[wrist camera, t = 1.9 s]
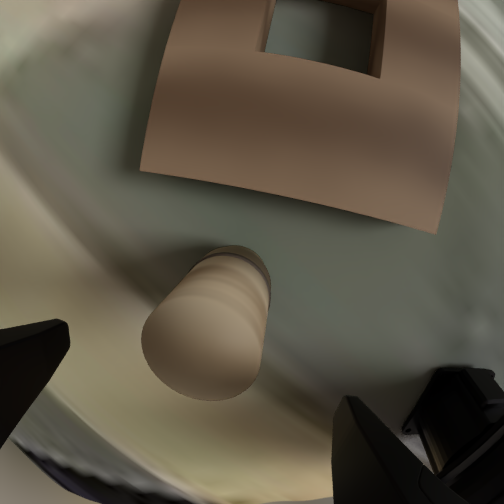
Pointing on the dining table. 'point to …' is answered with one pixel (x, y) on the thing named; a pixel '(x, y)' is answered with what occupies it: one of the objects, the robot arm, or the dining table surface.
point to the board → (312, 109)
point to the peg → (211, 326)
